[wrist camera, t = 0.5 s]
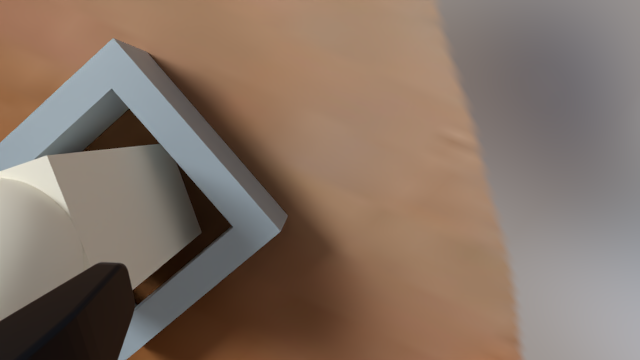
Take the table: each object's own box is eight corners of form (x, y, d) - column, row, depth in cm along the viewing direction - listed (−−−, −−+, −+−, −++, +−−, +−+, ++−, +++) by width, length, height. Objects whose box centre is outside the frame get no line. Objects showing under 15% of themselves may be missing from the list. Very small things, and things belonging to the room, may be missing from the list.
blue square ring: (136, 342, 24) (104, 378, 21) (-5, 190, 23) (-63, 201, 20) (288, 215, 23) (280, 231, 20) (146, 51, 22) (113, 38, 19)
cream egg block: (201, 232, 24) (59, 351, 11) (114, 260, 24) (-119, 407, 11) (169, 142, 23) (-20, 162, 11) (80, 172, 23) (-205, 224, 11)
